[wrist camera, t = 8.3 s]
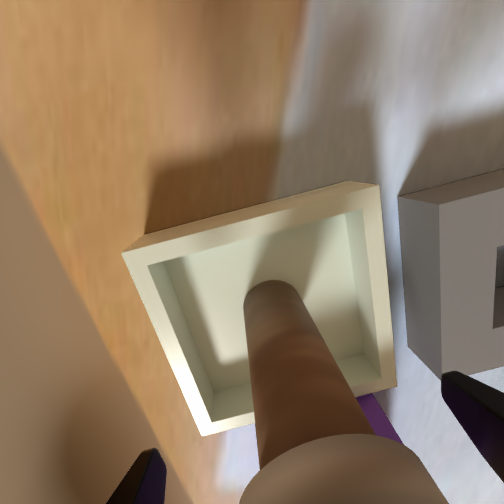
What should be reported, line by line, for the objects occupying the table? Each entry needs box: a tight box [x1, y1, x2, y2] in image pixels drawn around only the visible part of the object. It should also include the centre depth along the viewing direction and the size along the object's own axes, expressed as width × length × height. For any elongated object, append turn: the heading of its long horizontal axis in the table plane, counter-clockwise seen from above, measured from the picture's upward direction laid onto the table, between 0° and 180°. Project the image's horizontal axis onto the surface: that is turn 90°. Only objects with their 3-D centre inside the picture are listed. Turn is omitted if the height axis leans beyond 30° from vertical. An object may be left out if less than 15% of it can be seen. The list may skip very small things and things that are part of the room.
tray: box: [121, 181, 397, 436], centre depth 14 cm, size 11×11×3 cm
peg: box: [239, 280, 449, 504], centre depth 10 cm, size 4×4×10 cm
